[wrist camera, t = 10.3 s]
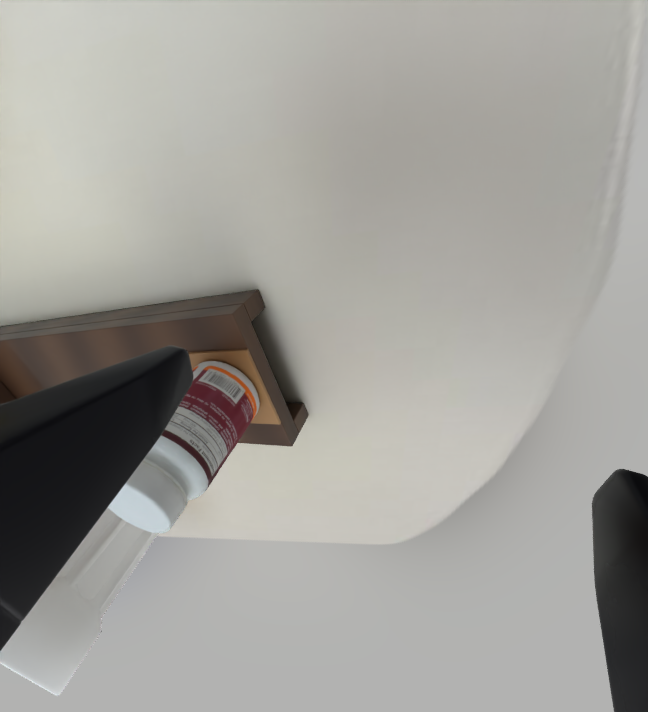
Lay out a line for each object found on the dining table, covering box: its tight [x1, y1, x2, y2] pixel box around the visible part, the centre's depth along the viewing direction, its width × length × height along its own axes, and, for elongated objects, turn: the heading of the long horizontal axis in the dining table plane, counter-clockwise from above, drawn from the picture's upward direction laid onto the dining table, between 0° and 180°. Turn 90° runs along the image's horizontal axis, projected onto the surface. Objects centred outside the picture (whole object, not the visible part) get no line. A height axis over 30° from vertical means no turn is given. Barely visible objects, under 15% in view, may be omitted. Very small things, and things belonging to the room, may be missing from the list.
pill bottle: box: [108, 361, 260, 533], centre depth 20 cm, size 5×5×8 cm
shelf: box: [0, 290, 308, 446], centre depth 29 cm, size 29×10×5 cm, turn 107°
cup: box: [0, 508, 159, 696], centre depth 35 cm, size 11×11×17 cm
